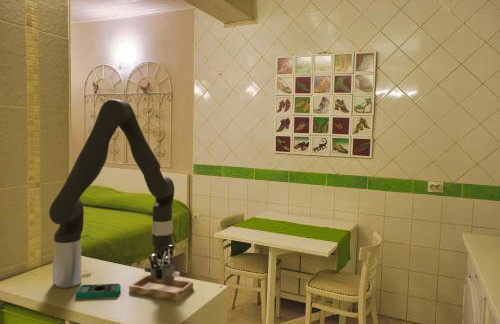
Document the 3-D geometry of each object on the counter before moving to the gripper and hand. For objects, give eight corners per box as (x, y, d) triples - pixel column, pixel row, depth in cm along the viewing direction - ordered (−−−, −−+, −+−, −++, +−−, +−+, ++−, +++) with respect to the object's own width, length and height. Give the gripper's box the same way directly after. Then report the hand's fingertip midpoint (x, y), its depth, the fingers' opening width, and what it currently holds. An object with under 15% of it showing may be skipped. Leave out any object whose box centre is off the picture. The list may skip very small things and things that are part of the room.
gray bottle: (142, 276, 147) (142, 265, 146) (149, 272, 151) (149, 261, 151) (175, 282, 143) (175, 270, 142) (181, 278, 147) (181, 266, 146)
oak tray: (129, 292, 145) (129, 285, 144) (147, 280, 156) (147, 274, 156) (177, 302, 138) (177, 294, 138) (193, 288, 150) (193, 282, 150)
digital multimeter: (118, 298, 141) (118, 290, 140) (74, 300, 138) (74, 292, 138) (121, 289, 148) (121, 282, 148) (79, 291, 145) (79, 283, 145)
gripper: (163, 225, 153) (163, 268, 155) (142, 235, 139) (142, 282, 141) (180, 228, 150) (180, 271, 152) (160, 238, 137) (160, 285, 139)
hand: (162, 276), depth 147 cm, fingers closed on gray bottle, 4 cm apart
